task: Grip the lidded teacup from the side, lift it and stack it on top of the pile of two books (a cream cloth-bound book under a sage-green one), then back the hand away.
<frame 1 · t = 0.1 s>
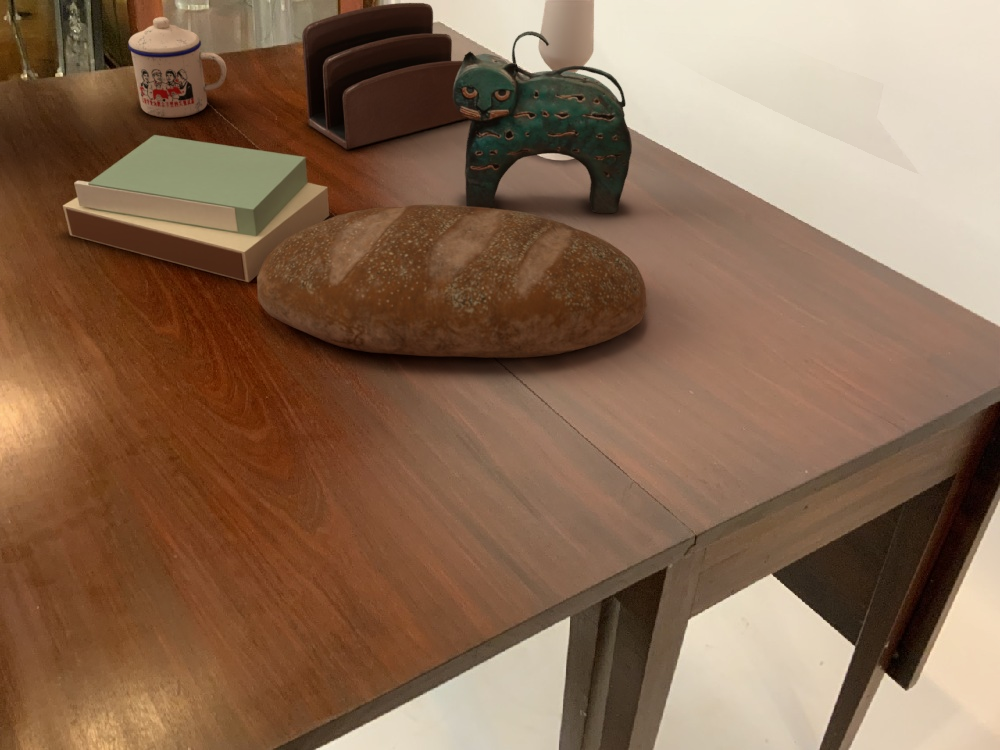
letter holder: (391, 124, 131), on the table
teacup with lid: (186, 108, 132), on the table
ceramic cat: (537, 206, 113), on the table
book stack: (203, 225, 106), on the table
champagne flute: (557, 150, 126), on the table
bread: (453, 306, 95), on the table
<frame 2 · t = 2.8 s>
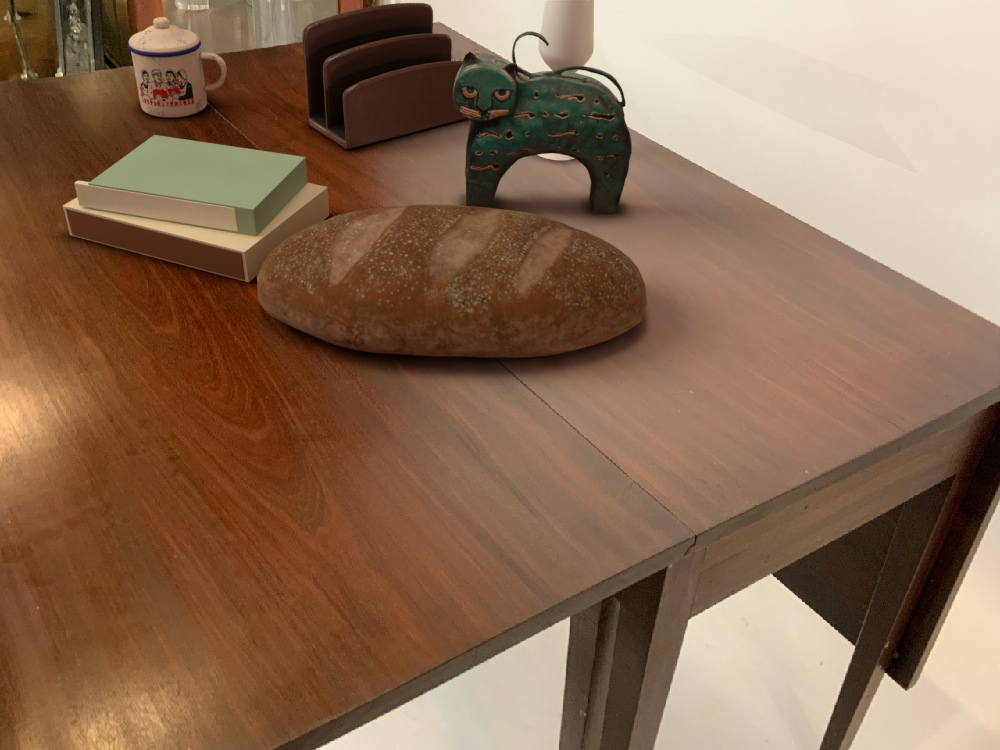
nothing on the table moved.
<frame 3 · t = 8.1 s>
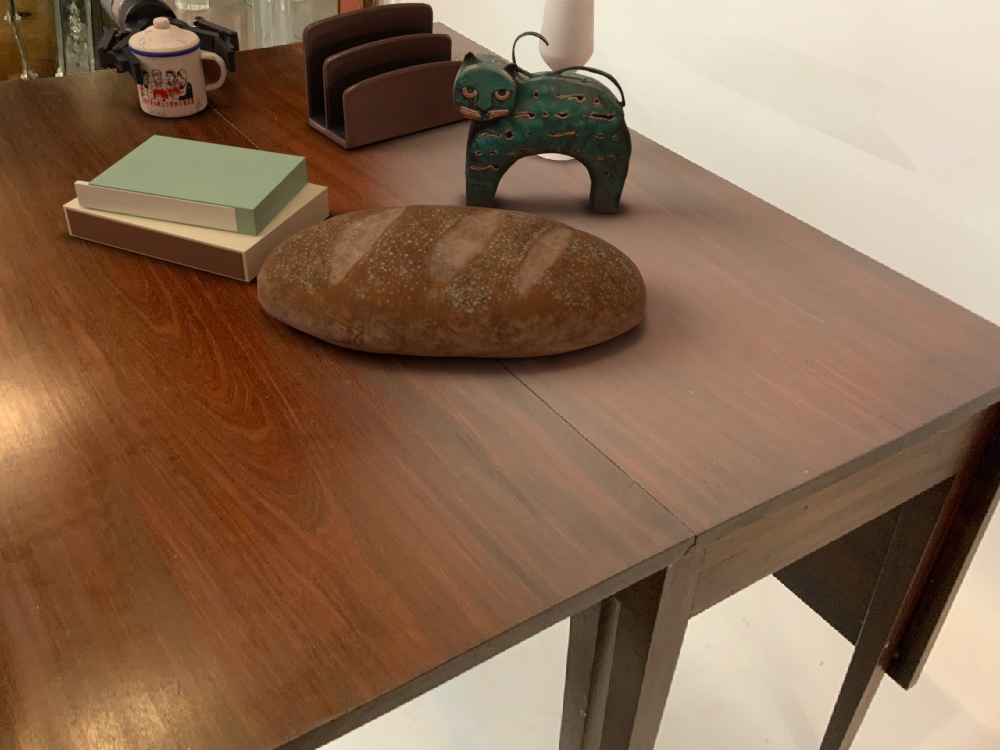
hand: (186, 67, 125), 7 cm above the table, tool horizontal, fingers closed on teacup with lid, 11 cm apart
teacup with lid: (186, 108, 132), on the table, touching gripper
everything else where it was.
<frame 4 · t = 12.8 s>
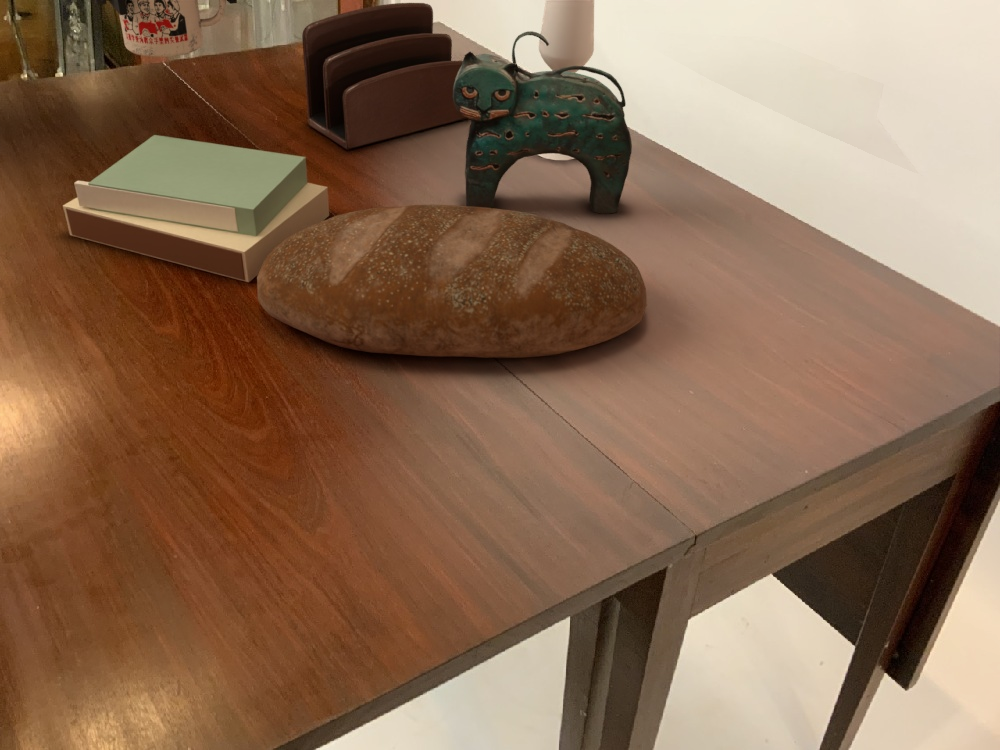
teacup with lid: (177, 47, 112), point 13 cm above the table, touching gripper
everything else where it was.
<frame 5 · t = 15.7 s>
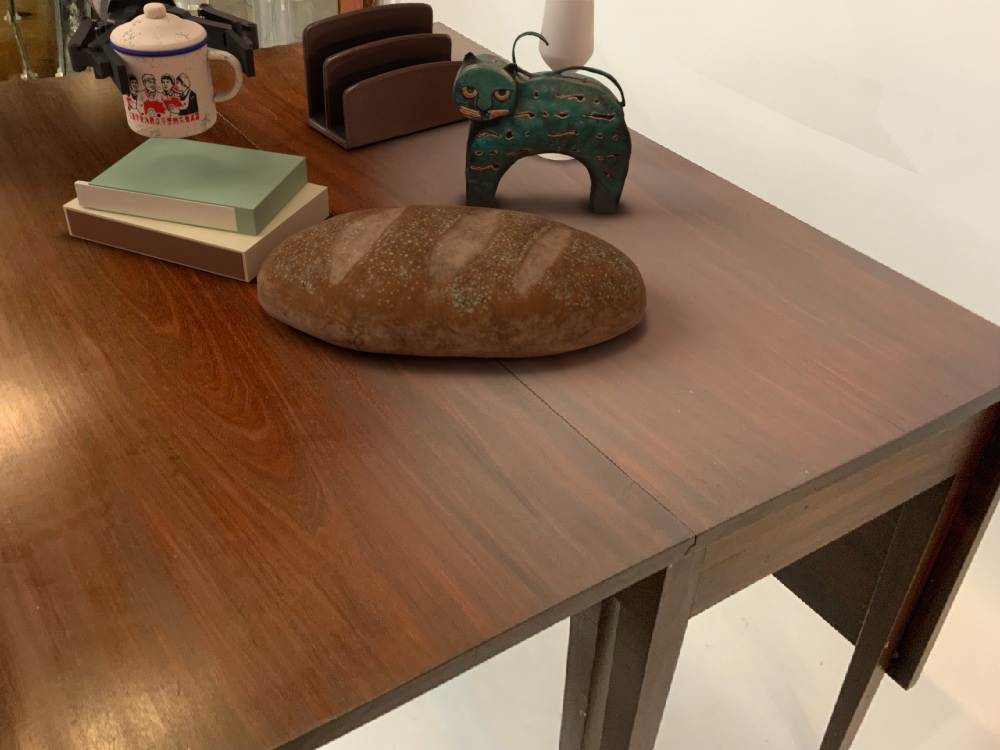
hand: (188, 71, 92), 18 cm above the table, tool horizontal, fingers closed on teacup with lid, 11 cm apart
teacup with lid: (188, 125, 99), point 11 cm above the table, touching gripper
everything else where it was.
when the fingers open (13 cm above the table, at t = 17.8 s): teacup with lid stays where it is, resting on book stack.
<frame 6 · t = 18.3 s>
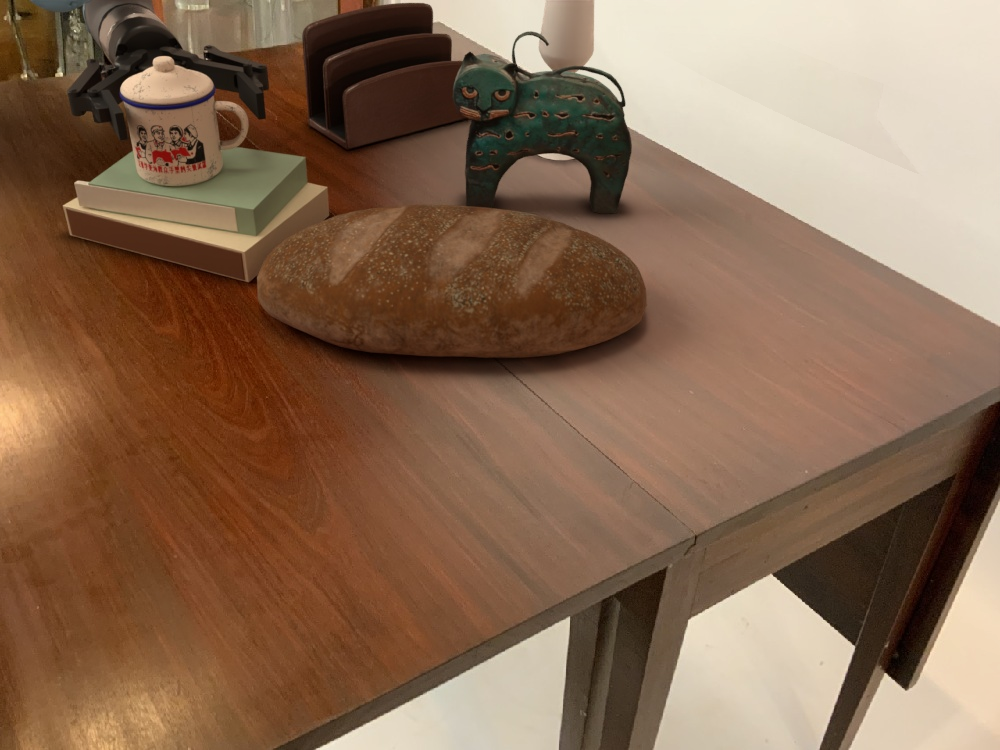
hand: (193, 116, 95), 14 cm above the table, tool horizontal, fingers open, 13 cm apart
teacup with lid: (195, 171, 102), point 6 cm above the table, touching book stack
everything else where it was.
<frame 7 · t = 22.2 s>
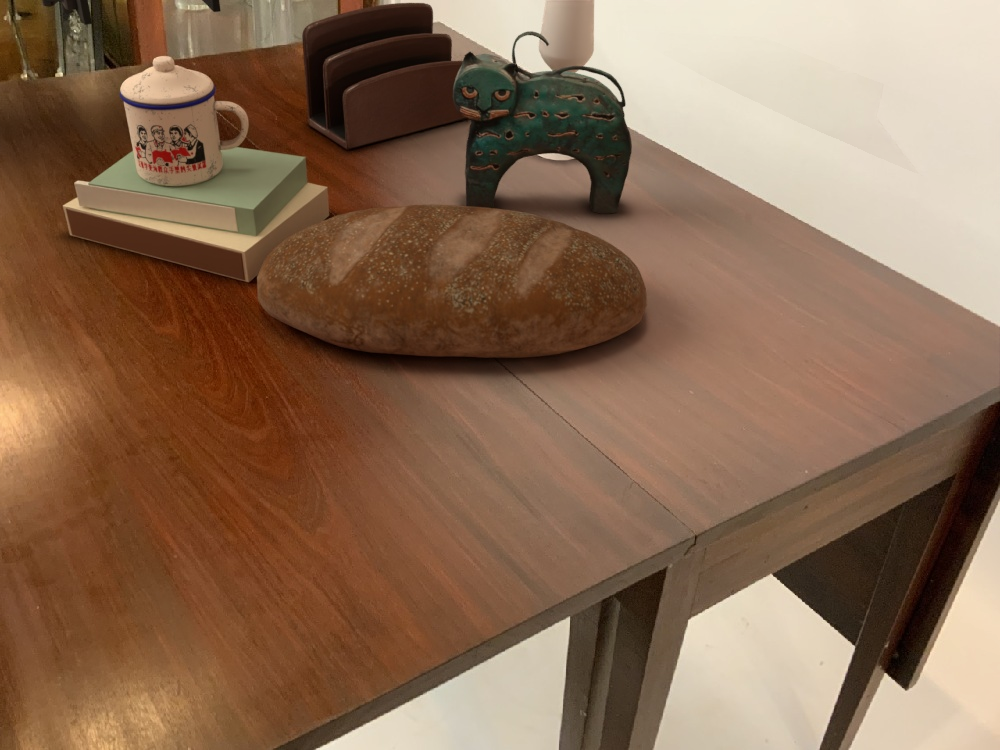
hand: (152, 5, 104), 19 cm above the table, tool horizontal, fingers open, 13 cm apart
nothing on the table moved.
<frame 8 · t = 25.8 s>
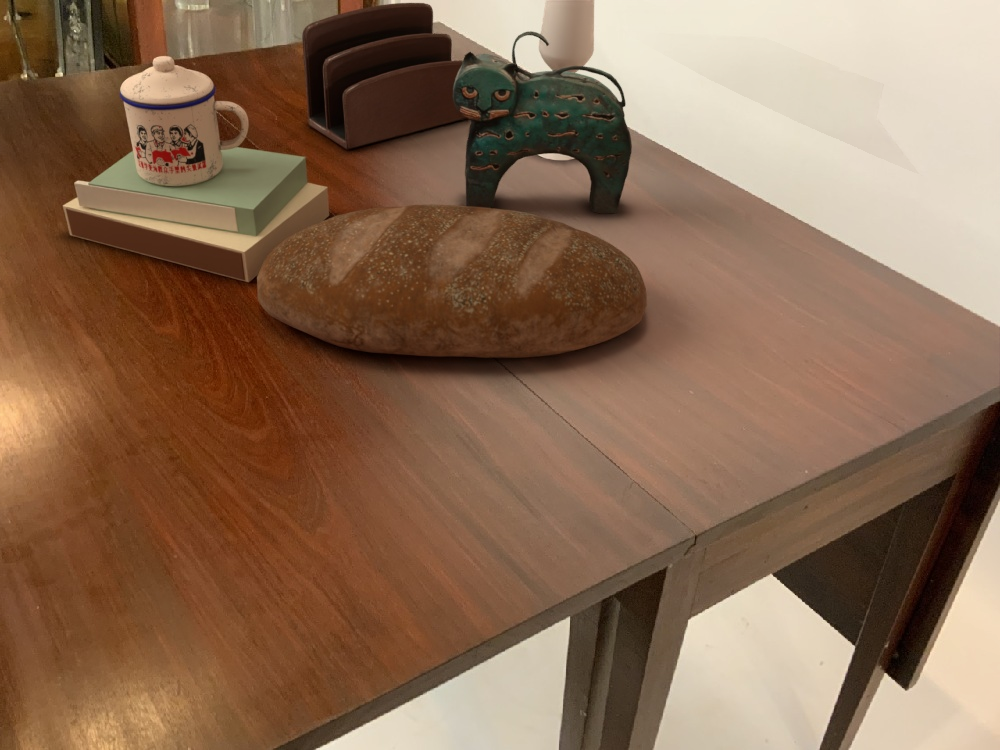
nothing on the table moved.
at the end: teacup with lid inside the target area on the book stack (0.0 cm from its centre), point 6.3 cm above the book stack's base; teacup with lid tilted 0°; the gripper is holding nothing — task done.
